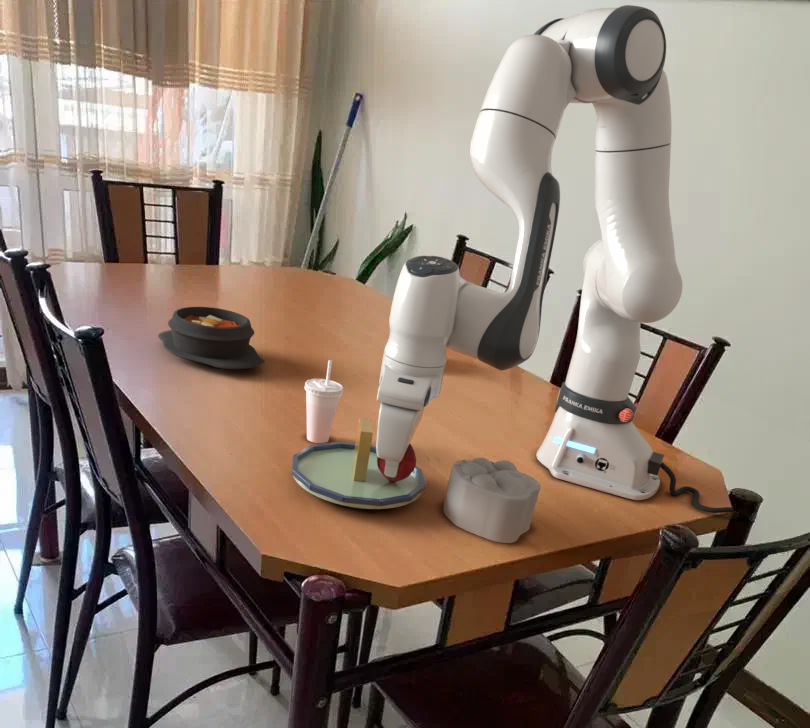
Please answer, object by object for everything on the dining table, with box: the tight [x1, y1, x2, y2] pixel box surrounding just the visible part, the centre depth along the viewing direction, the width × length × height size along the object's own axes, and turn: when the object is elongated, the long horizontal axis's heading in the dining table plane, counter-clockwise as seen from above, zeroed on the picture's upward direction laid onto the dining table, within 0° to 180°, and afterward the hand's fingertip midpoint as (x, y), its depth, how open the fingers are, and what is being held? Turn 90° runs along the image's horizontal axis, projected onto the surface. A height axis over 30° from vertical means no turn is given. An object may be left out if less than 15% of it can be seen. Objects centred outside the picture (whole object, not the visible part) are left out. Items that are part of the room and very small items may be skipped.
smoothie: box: [303, 359, 344, 444], centre depth 134 cm, size 6×6×14 cm
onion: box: [377, 443, 417, 483], centre depth 120 cm, size 6×6×8 cm
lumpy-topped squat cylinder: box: [442, 457, 541, 544], centre depth 119 cm, size 10×13×9 cm
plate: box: [291, 418, 427, 510], centre depth 120 cm, size 20×20×9 cm
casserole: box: [157, 306, 265, 370], centre depth 163 cm, size 25×19×8 cm
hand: (395, 465), depth 120 cm, fingers closed on onion, 6 cm apart
